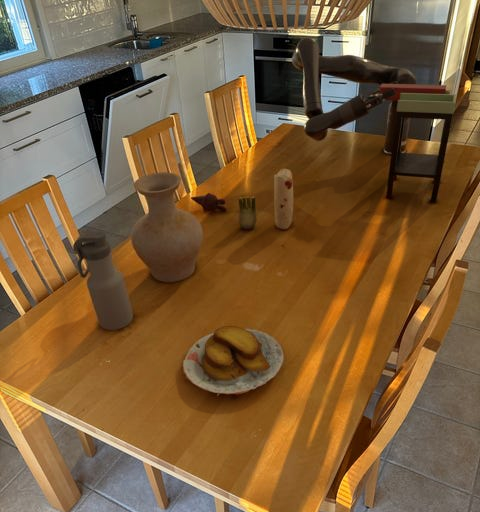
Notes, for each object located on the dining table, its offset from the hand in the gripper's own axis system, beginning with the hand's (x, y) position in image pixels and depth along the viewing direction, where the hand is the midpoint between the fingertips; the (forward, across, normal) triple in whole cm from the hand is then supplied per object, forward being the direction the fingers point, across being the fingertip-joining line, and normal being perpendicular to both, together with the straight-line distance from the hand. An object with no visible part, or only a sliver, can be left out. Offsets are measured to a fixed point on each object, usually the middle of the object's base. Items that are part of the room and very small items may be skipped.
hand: (395, 87), depth 181 cm
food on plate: (-38, -114, +20) cm, 122 cm away
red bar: (+3, 0, +6) cm, 7 cm away
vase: (-67, -78, +3) cm, 103 cm away
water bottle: (-72, -106, 0) cm, 128 cm away
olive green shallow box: (+8, -10, +9) cm, 15 cm away
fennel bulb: (-54, -47, +10) cm, 72 cm away
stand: (-8, -4, +37) cm, 38 cm away
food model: (-44, -42, +16) cm, 63 cm away
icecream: (-71, -37, +1) cm, 80 cm away
